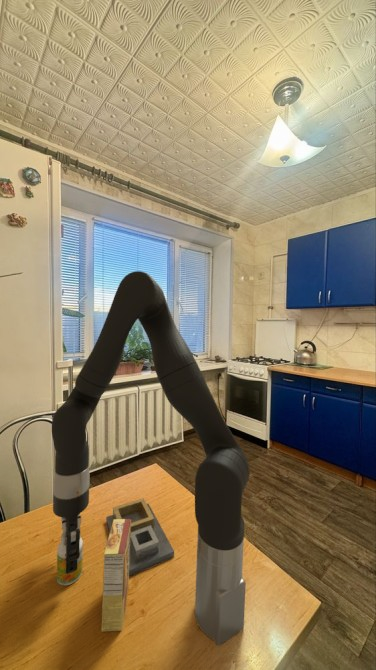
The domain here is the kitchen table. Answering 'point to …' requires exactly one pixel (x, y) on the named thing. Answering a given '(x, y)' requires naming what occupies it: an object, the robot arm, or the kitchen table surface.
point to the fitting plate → (143, 536)
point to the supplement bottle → (61, 564)
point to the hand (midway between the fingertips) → (70, 555)
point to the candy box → (116, 575)
